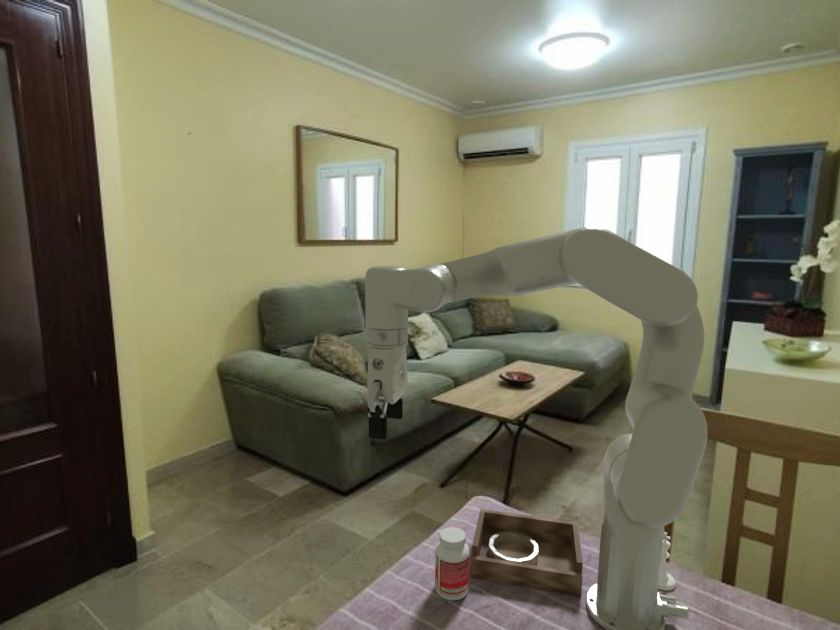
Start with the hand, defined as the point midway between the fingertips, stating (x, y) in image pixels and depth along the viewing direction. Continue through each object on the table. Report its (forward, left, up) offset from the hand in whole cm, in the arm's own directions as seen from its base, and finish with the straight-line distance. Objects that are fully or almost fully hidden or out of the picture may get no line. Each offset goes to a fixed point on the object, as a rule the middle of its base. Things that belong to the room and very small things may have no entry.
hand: (386, 427), depth 89 cm
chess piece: (-51, -10, -30) cm, 60 cm away
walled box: (-26, -9, -29) cm, 40 cm away
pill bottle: (-13, +2, -30) cm, 32 cm away
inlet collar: (-24, -10, -29) cm, 39 cm away
